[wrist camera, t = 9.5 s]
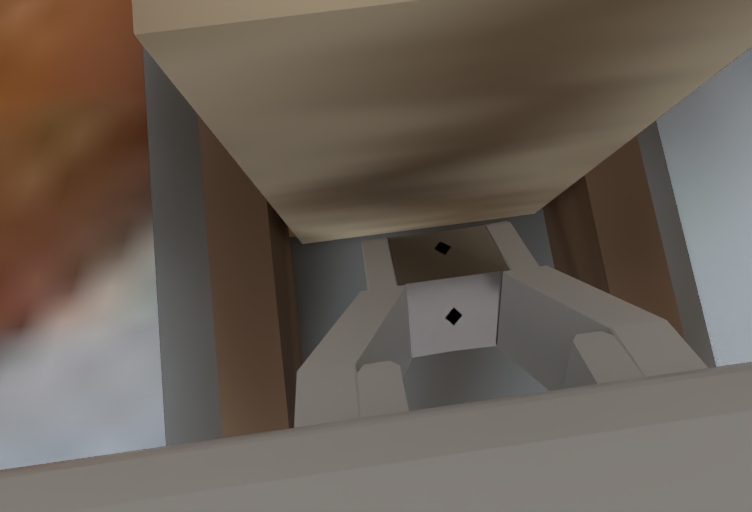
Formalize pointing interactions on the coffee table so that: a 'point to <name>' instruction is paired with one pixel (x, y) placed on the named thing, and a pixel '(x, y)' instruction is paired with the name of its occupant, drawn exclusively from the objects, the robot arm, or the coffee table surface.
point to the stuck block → (431, 96)
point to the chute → (363, 277)
